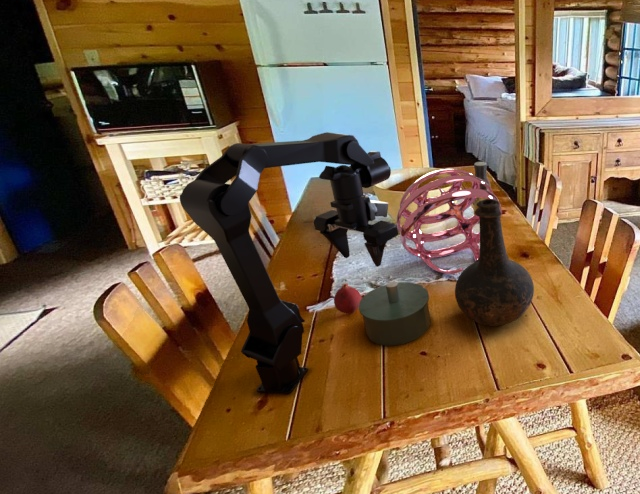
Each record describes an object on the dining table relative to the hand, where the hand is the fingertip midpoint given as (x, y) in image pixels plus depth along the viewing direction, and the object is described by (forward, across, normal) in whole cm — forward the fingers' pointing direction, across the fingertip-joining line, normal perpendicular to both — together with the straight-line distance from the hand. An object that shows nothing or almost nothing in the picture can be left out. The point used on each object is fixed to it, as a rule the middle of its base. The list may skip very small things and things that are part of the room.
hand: (362, 261), depth 97 cm
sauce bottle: (+13, +5, -57) cm, 59 cm away
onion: (+14, +4, +3) cm, 14 cm away
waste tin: (+13, -9, +2) cm, 16 cm away
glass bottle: (+14, -27, -12) cm, 32 cm away
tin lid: (+7, -9, +2) cm, 12 cm away
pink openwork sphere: (+13, -3, -29) cm, 32 cm away
